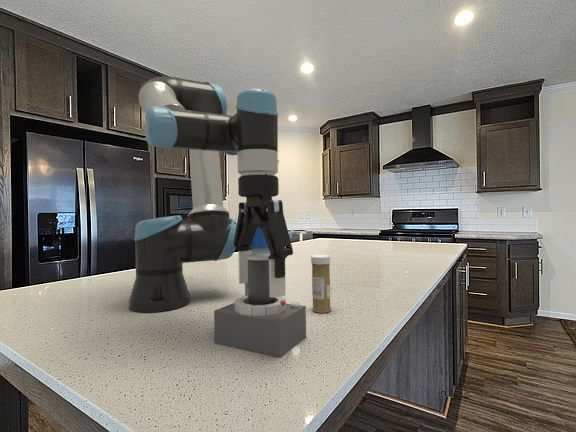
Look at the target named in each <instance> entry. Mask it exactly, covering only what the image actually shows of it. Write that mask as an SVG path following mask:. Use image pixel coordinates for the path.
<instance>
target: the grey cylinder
mask: <svg viewBox="0 0 576 432" xmlns="http://www.w3.org/2000/svg"><path fill="white" fill-rule="evenodd" d="M269 256H270V254H250V255H247V259H248V304H249V305H267V304H273V303H275V297H273V298H271V297H270V292H269V259H268V257H269Z"/></svg>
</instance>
